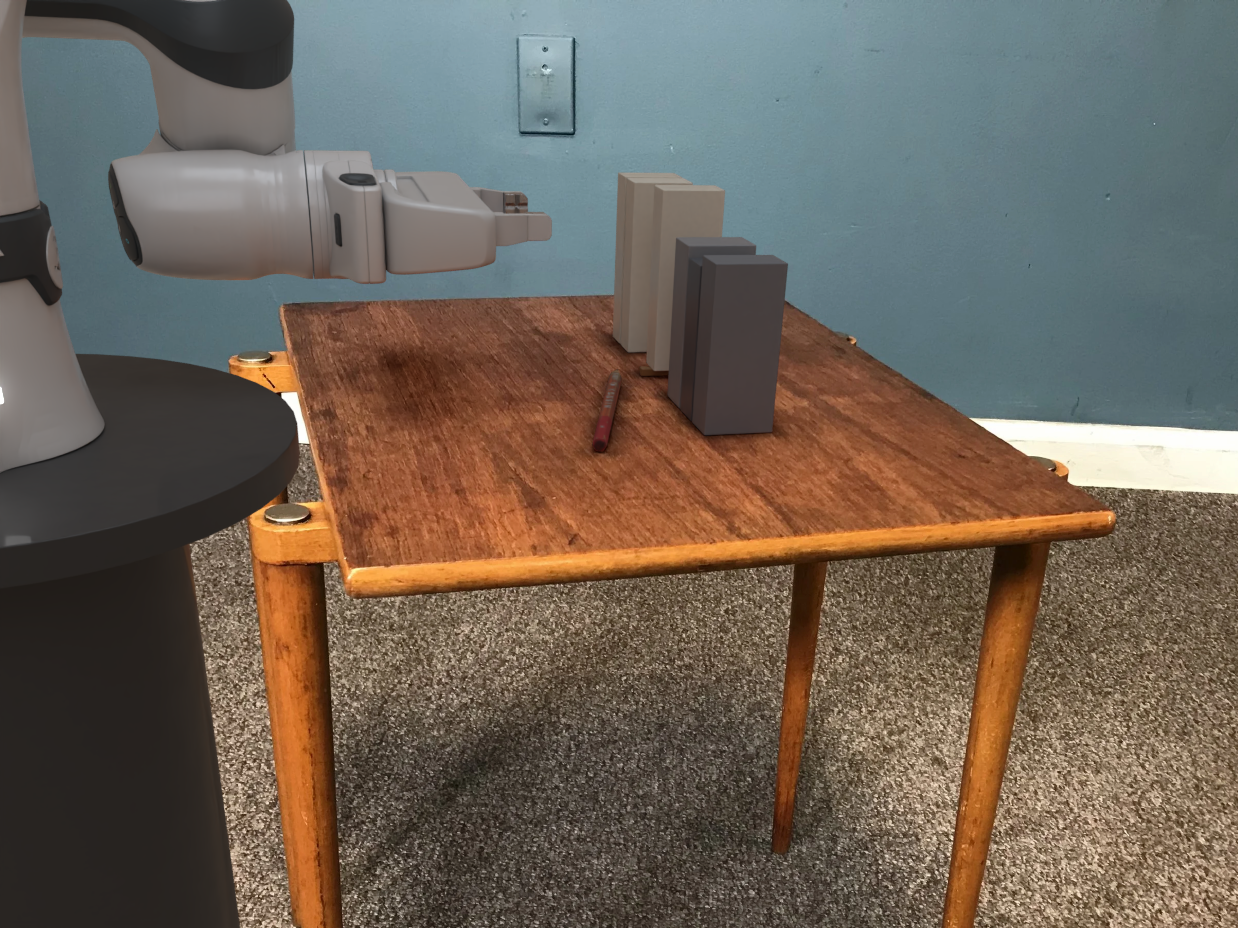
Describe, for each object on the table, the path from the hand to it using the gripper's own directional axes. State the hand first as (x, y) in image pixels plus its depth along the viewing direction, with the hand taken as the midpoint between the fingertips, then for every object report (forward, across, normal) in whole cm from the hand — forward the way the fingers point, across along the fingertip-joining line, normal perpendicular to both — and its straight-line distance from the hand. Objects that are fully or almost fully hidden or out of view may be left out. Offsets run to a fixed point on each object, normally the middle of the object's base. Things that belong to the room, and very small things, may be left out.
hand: (537, 214), depth 96 cm
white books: (+12, -6, -13) cm, 18 cm away
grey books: (+12, +11, -13) cm, 20 cm away
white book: (+12, 0, -12) cm, 17 cm away
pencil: (+4, +9, -13) cm, 16 cm away
